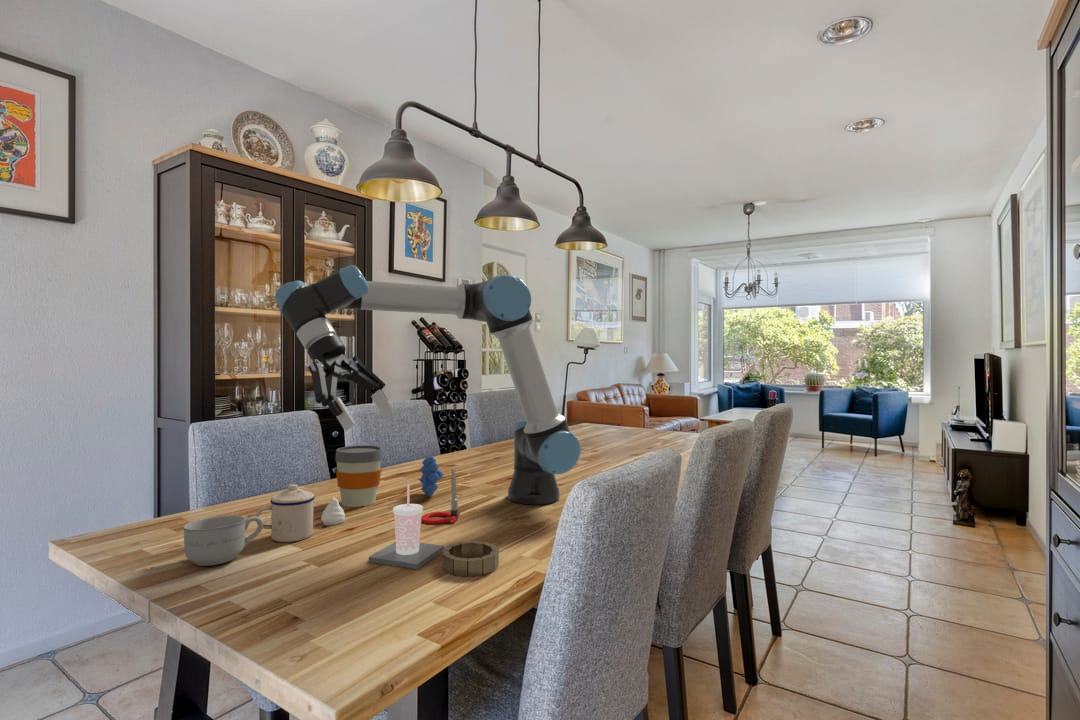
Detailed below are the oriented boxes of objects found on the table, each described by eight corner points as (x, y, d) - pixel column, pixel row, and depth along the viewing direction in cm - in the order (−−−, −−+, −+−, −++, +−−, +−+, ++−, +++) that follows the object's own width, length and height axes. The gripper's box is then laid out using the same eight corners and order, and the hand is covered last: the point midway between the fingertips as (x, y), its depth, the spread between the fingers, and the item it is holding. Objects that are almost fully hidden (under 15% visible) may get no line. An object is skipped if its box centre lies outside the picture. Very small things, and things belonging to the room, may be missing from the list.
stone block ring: (473, 551, 117) (474, 537, 117) (509, 565, 109) (509, 550, 109) (431, 565, 109) (431, 550, 109) (466, 581, 101) (466, 565, 101)
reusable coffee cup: (363, 494, 162) (364, 443, 162) (391, 501, 155) (392, 448, 154) (325, 503, 152) (325, 449, 152) (353, 511, 144) (353, 454, 144)
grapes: (449, 499, 158) (450, 457, 158) (426, 502, 155) (427, 459, 155) (437, 490, 168) (437, 451, 168) (415, 492, 165) (415, 452, 165)
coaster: (399, 544, 121) (399, 539, 120) (444, 550, 117) (444, 545, 117) (368, 561, 110) (368, 556, 110) (416, 569, 107) (416, 564, 107)
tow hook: (417, 525, 135) (454, 525, 135) (415, 473, 135) (452, 472, 135) (425, 516, 143) (461, 515, 143) (424, 466, 143) (459, 465, 143)
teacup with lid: (312, 528, 131) (313, 479, 131) (315, 539, 122) (316, 487, 122) (256, 534, 125) (256, 483, 125) (254, 547, 117) (255, 492, 117)
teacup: (179, 575, 102) (180, 532, 102) (186, 555, 112) (186, 516, 112) (263, 563, 109) (263, 522, 109) (262, 545, 118) (263, 508, 118)
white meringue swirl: (348, 498, 135) (326, 502, 131) (348, 523, 135) (325, 527, 131) (340, 494, 139) (318, 497, 135) (339, 518, 139) (317, 522, 135)
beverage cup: (386, 553, 112) (386, 484, 112) (405, 544, 118) (405, 478, 118) (410, 558, 110) (411, 488, 110) (428, 548, 115) (429, 481, 115)
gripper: (349, 350, 136) (394, 420, 133) (267, 356, 113) (319, 442, 110) (368, 331, 134) (415, 403, 130) (288, 334, 111) (342, 421, 107)
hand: (371, 421), depth 120 cm, fingers open, 13 cm apart
